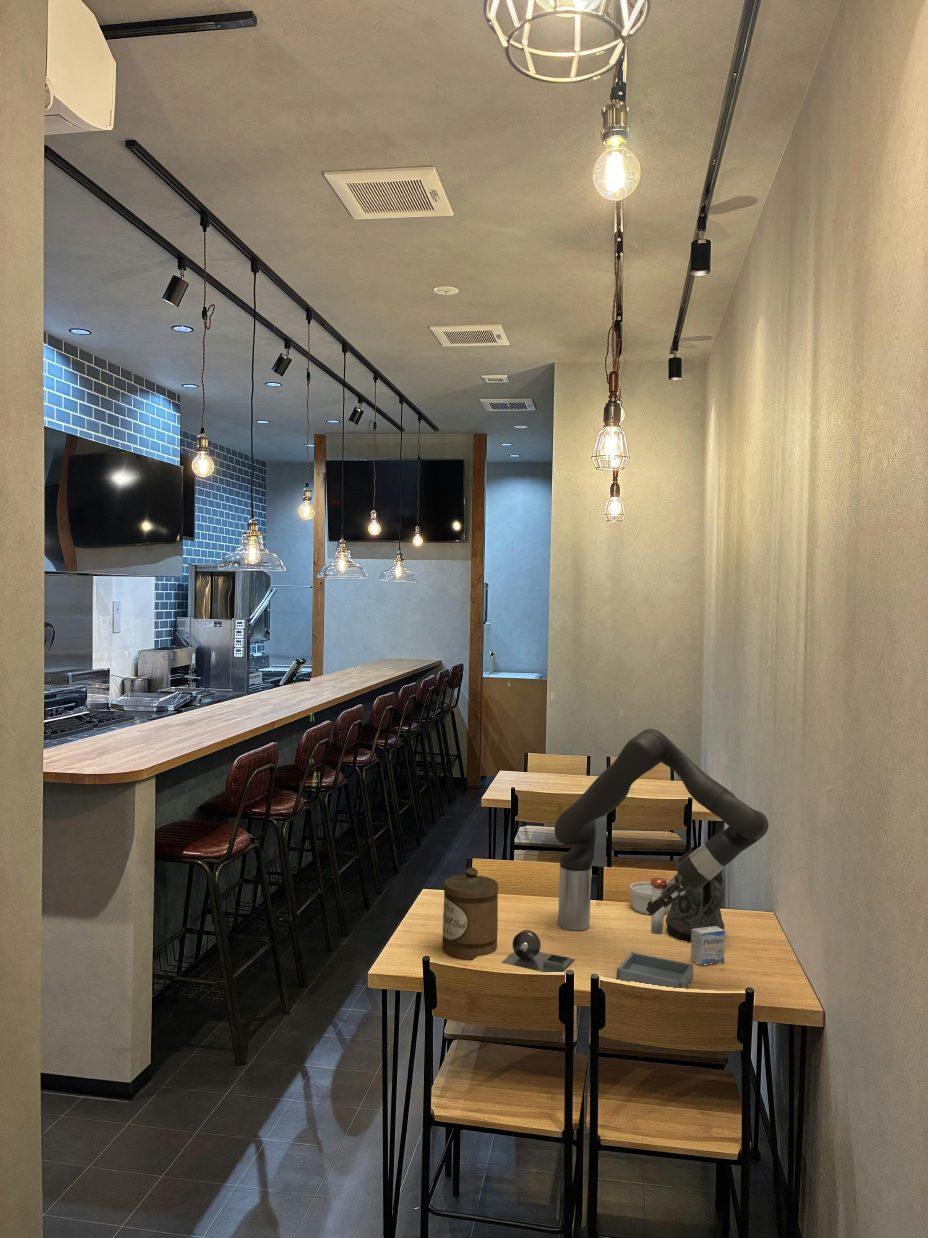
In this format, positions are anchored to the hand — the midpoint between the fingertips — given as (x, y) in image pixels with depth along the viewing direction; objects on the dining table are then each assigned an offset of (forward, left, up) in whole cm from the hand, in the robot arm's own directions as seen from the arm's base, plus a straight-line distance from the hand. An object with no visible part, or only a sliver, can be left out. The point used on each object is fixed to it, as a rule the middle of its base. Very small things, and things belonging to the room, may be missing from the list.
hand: (649, 909), depth 219 cm
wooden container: (+6, -47, -18) cm, 51 cm away
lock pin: (0, +2, -5) cm, 6 cm away
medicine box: (-20, +11, -18) cm, 29 cm away
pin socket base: (+6, -27, -18) cm, 33 cm away
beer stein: (-39, +5, -18) cm, 43 cm away
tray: (0, +2, -18) cm, 18 cm away
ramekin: (-54, -13, -18) cm, 59 cm away
